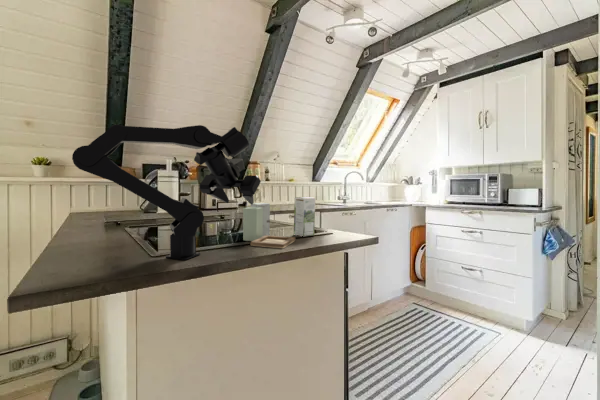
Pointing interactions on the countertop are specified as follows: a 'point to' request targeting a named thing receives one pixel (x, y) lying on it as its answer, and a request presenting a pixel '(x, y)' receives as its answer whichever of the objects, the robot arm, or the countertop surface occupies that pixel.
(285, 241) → the groove board
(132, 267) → the countertop surface
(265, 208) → the skincare box
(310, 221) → the syrup box
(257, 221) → the pale green tall block
